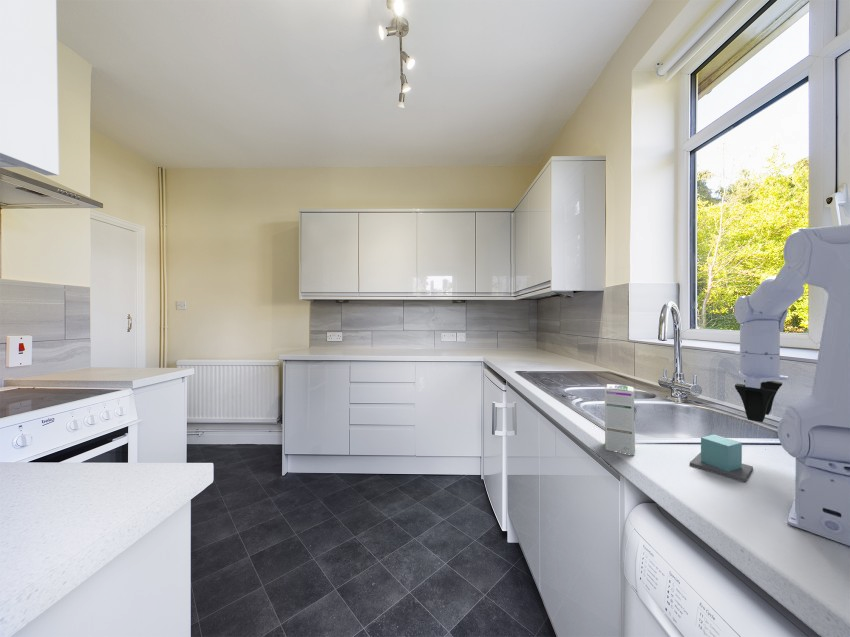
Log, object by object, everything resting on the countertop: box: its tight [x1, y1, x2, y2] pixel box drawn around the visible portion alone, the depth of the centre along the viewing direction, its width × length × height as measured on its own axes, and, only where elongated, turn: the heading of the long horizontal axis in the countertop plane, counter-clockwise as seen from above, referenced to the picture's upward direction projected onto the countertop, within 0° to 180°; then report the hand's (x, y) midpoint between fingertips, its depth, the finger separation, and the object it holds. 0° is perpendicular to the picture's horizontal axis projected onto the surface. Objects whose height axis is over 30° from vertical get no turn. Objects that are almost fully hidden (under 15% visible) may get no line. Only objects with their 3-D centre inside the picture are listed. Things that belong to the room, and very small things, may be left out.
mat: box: [689, 451, 754, 483], centre depth 63 cm, size 8×8×1 cm
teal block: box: [700, 434, 743, 472], centre depth 63 cm, size 4×4×5 cm
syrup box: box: [604, 383, 636, 456], centre depth 71 cm, size 6×6×14 cm
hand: (758, 417), depth 65 cm, fingers open, 7 cm apart
